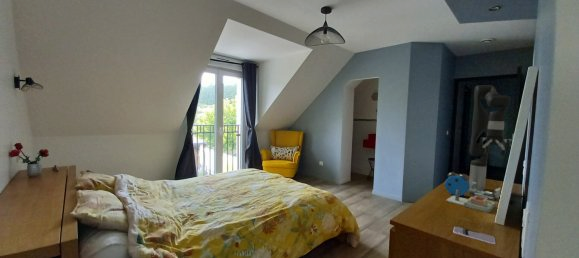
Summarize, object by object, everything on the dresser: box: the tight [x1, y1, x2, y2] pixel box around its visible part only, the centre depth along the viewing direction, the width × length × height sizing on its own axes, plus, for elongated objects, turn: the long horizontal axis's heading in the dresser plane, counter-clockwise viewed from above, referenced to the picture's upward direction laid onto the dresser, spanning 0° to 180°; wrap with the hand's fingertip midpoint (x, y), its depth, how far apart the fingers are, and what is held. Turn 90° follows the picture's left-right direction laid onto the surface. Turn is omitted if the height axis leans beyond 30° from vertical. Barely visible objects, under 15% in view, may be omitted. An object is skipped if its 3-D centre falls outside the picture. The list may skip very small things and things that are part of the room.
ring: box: [471, 195, 489, 207], centre depth 142 cm, size 11×6×4 cm, turn 130°
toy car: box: [468, 181, 502, 202], centre depth 160 cm, size 18×10×12 cm
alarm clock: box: [444, 171, 470, 197], centre depth 161 cm, size 13×6×15 cm, turn 45°
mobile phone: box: [452, 226, 496, 245], centre depth 109 cm, size 8×1×15 cm
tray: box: [463, 196, 496, 214], centre depth 142 cm, size 16×12×2 cm
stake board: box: [445, 190, 469, 206], centre depth 150 cm, size 13×9×7 cm
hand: (493, 154), depth 147 cm, fingers open, 8 cm apart
